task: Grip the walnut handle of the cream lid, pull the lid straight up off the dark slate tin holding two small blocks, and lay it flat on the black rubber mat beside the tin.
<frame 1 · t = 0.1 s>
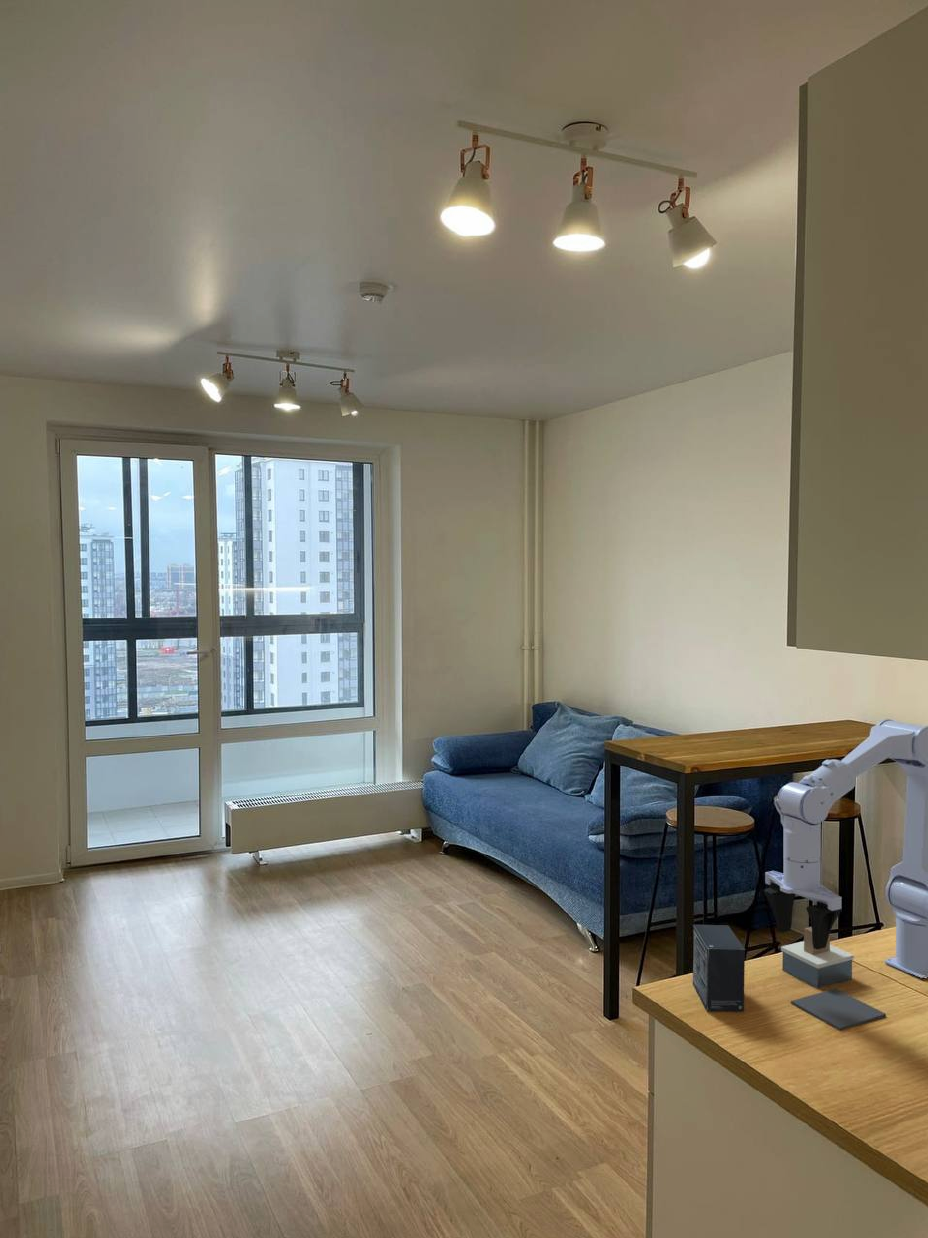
hand: (801, 939, 151), 10 cm above the worktop, tool pointing down, fingers open, 7 cm apart
tin: (816, 974, 161), on the worktop
small box: (718, 998, 153), on the worktop
mat: (837, 1009, 148), on the worktop
lid: (816, 958, 161), point 3 cm above the worktop, touching tin
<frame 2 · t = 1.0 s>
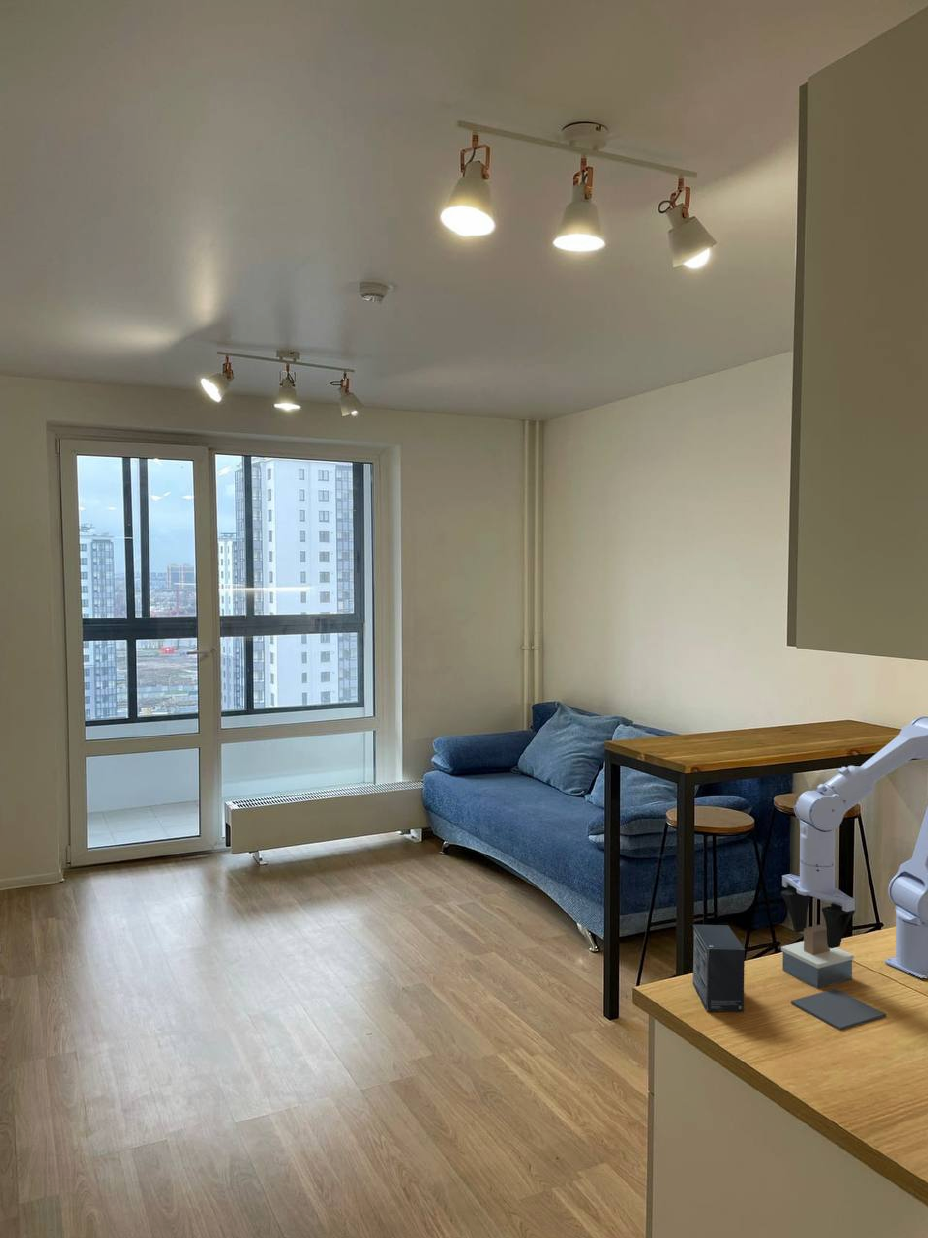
hand: (816, 938, 160), 6 cm above the worktop, tool pointing down, fingers open, 7 cm apart
nothing on the worktop moved.
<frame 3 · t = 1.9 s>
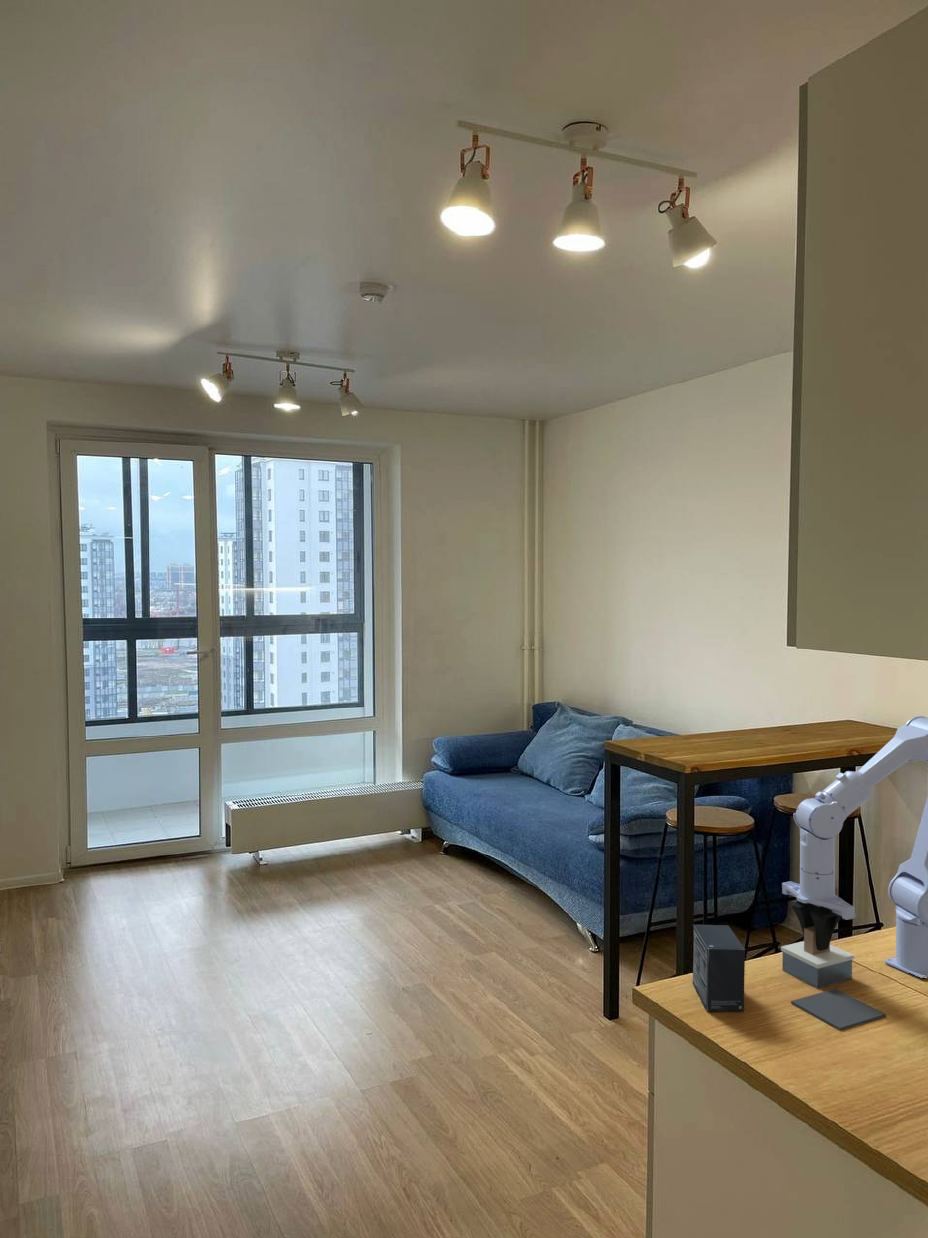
hand: (816, 946, 160), 5 cm above the worktop, tool pointing down, fingers closed on lid
lid: (816, 958, 161), point 3 cm above the worktop, touching gripper, tin
everything else where it was.
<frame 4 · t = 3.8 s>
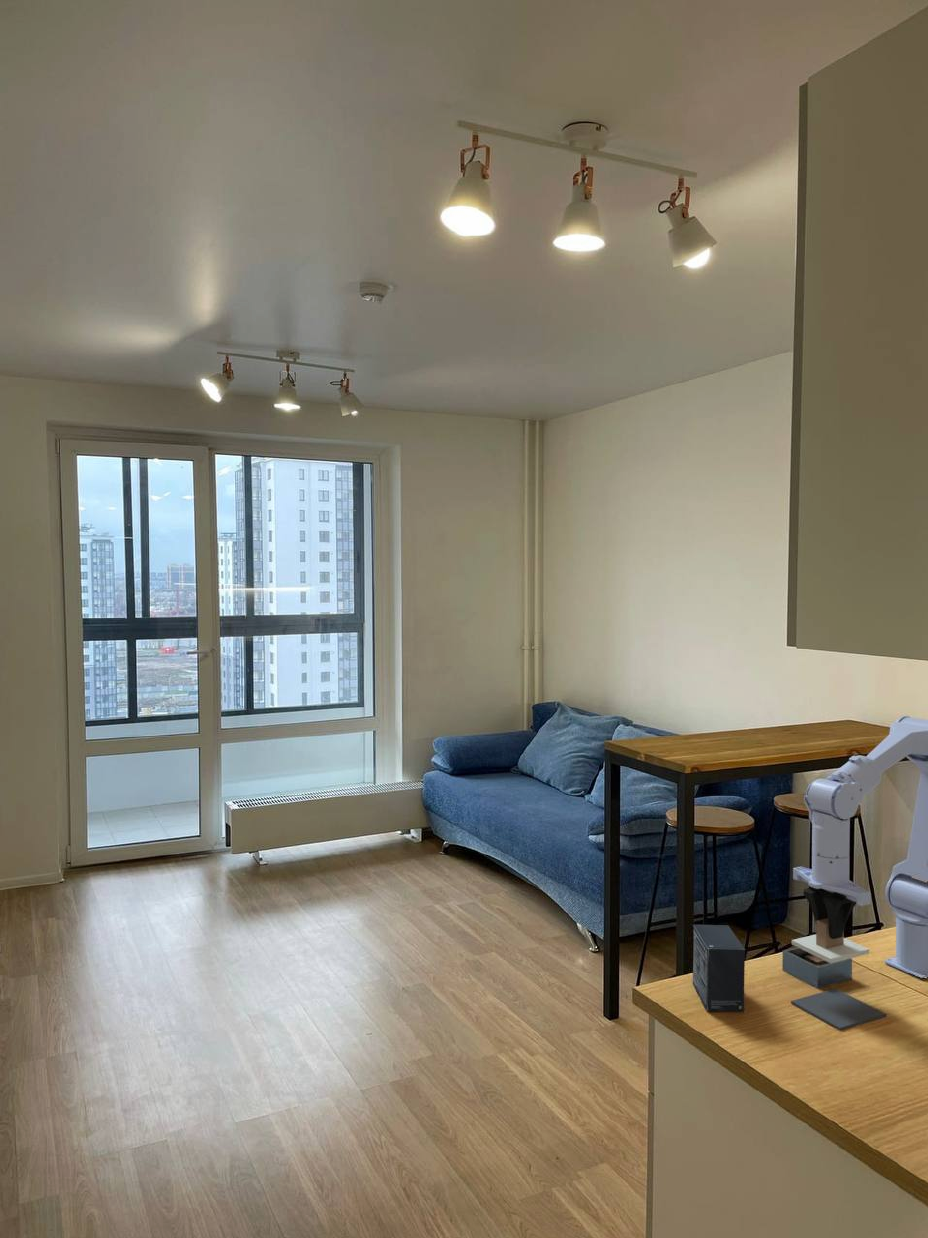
hand: (829, 934, 152), 10 cm above the worktop, tool pointing down, fingers closed on lid
lid: (829, 952, 152), point 8 cm above the worktop, touching gripper
everything else where it was.
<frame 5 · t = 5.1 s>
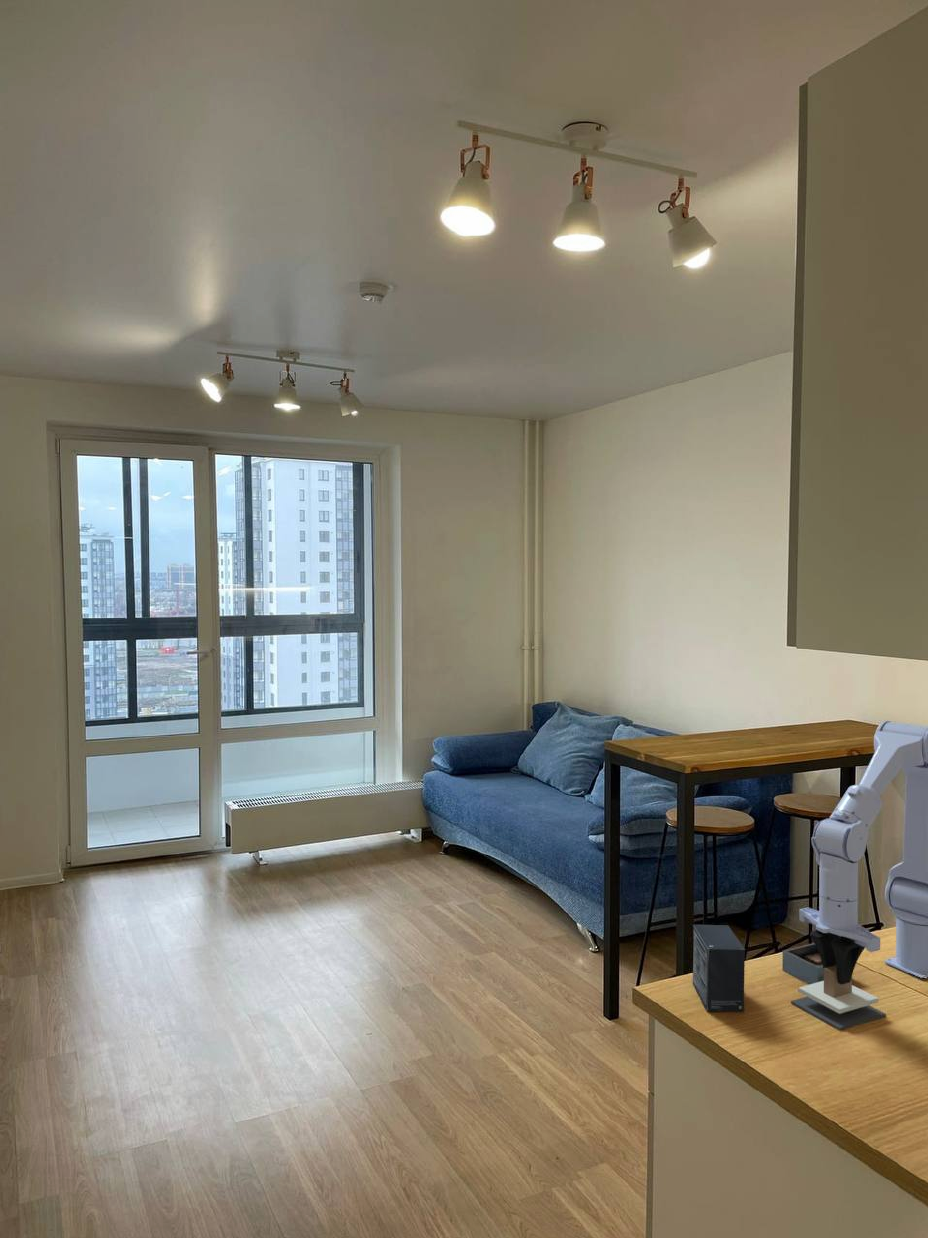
hand: (837, 979, 148), 5 cm above the worktop, tool pointing down, fingers closed on lid
lid: (837, 1000, 148), point 1 cm above the worktop, touching gripper
everything else where it was.
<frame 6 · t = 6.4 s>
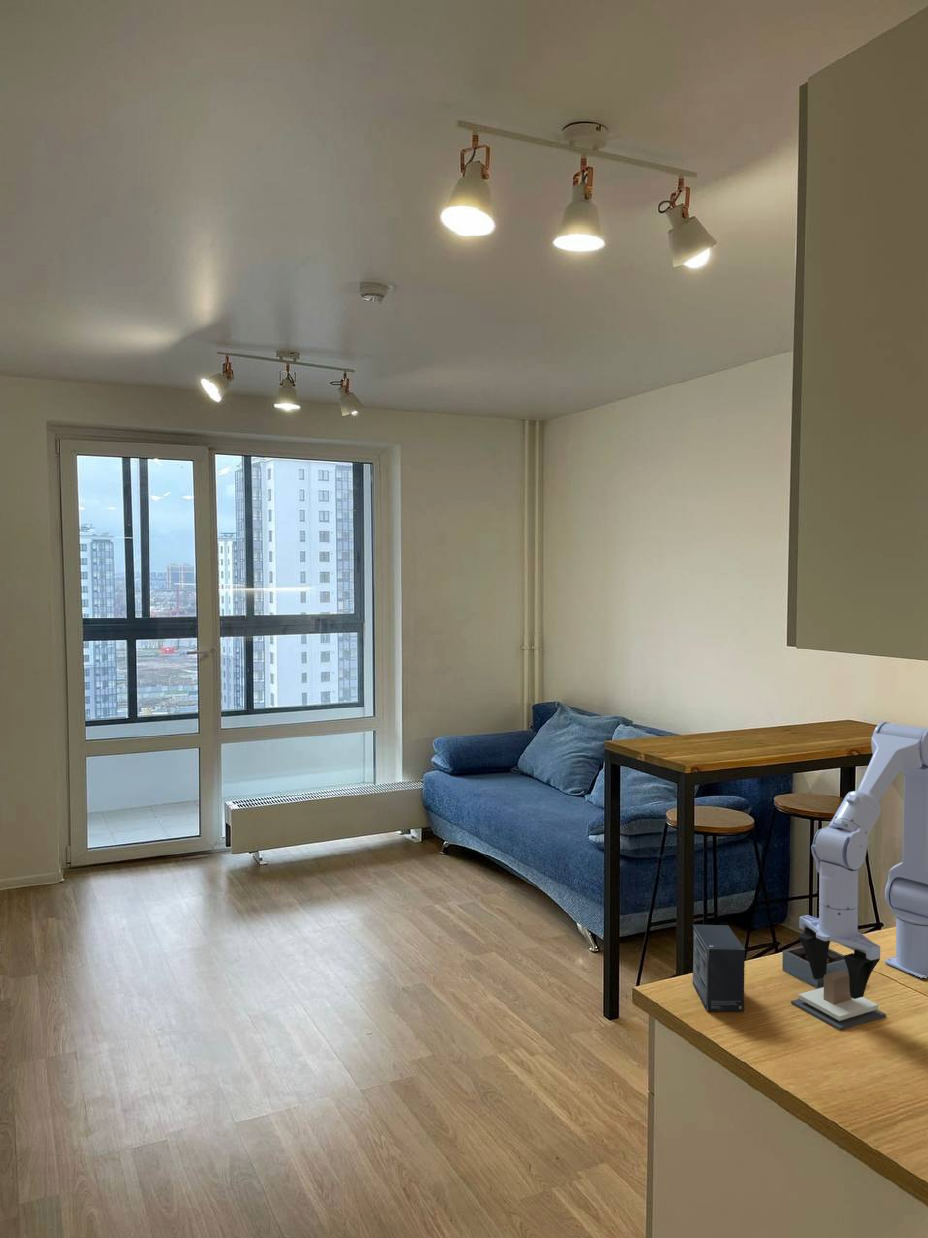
hand: (837, 986, 148), 4 cm above the worktop, tool pointing down, fingers open, 7 cm apart
lid: (837, 1007, 148), resting on mat
everything else where it was.
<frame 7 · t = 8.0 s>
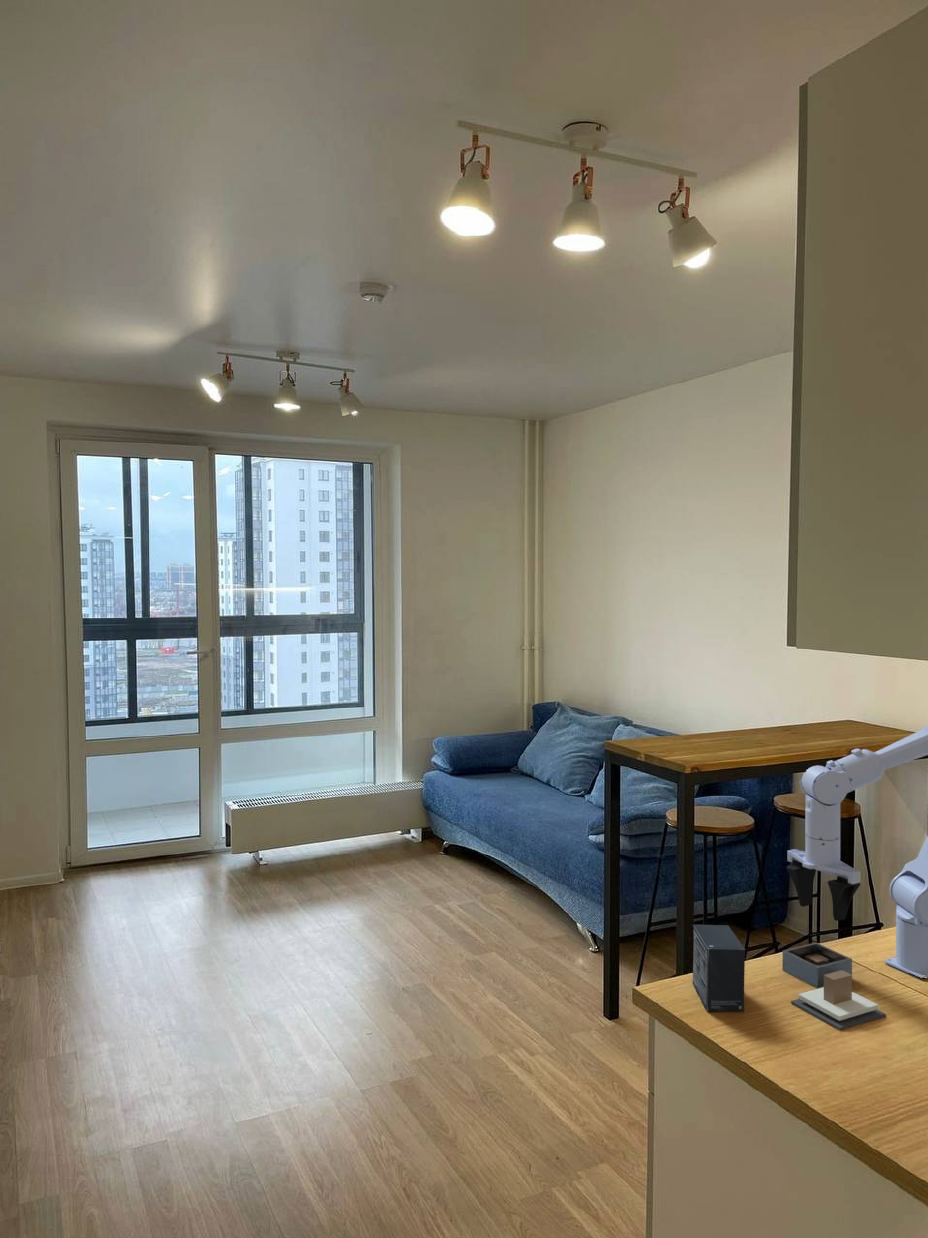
hand: (822, 912, 162), 10 cm above the worktop, tool pointing down, fingers open, 7 cm apart
nothing on the worktop moved.
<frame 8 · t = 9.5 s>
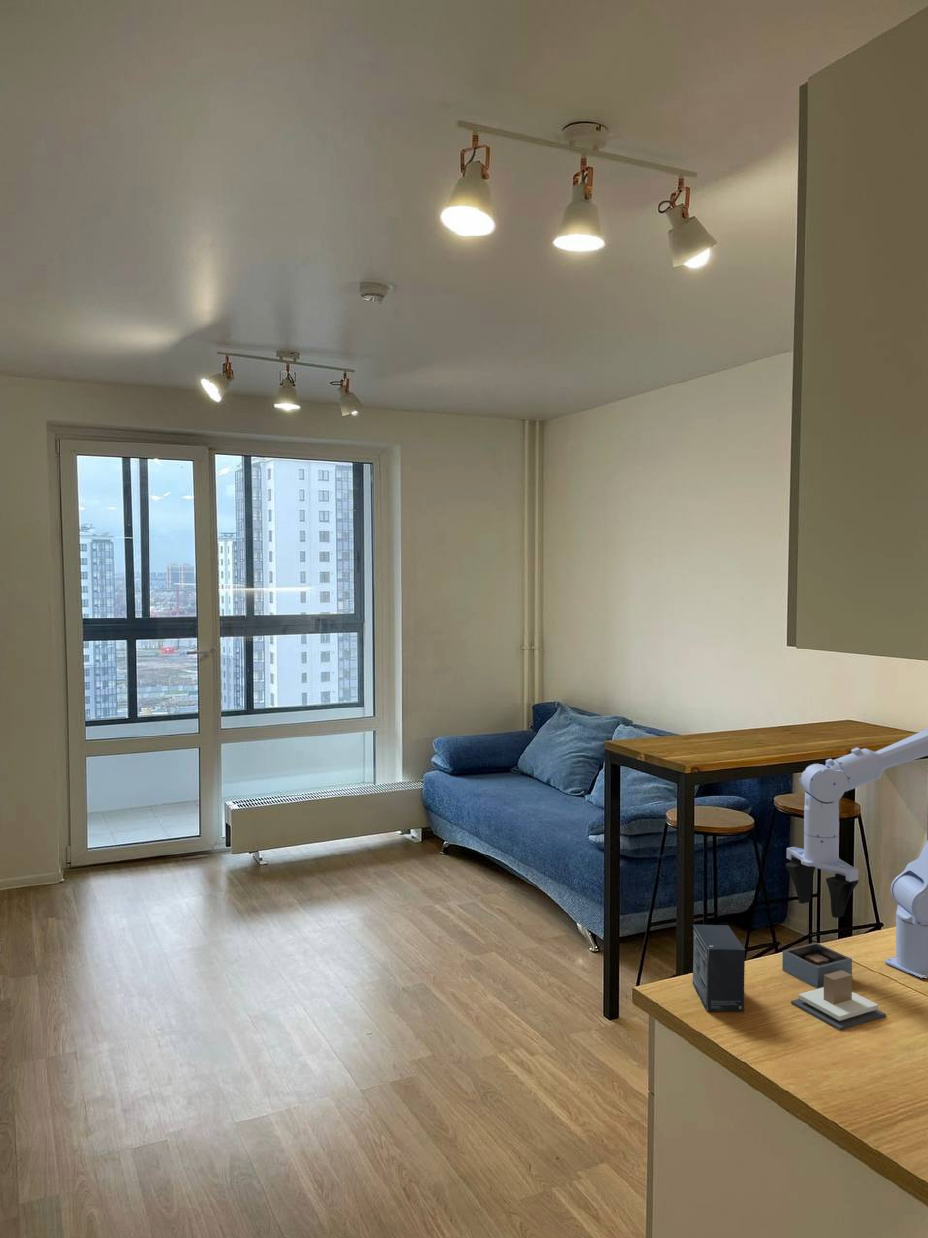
hand: (820, 909, 163), 10 cm above the worktop, tool pointing down, fingers open, 7 cm apart
nothing on the worktop moved.
at the end: lid 0.0 cm off-centre on the mat, point 0.4 cm above the mat's base; lid tilted 0°; the gripper is holding nothing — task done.
